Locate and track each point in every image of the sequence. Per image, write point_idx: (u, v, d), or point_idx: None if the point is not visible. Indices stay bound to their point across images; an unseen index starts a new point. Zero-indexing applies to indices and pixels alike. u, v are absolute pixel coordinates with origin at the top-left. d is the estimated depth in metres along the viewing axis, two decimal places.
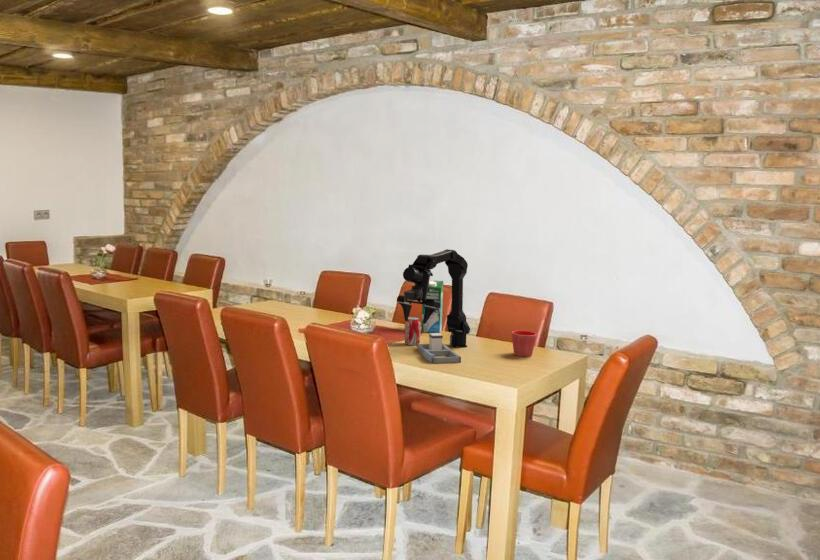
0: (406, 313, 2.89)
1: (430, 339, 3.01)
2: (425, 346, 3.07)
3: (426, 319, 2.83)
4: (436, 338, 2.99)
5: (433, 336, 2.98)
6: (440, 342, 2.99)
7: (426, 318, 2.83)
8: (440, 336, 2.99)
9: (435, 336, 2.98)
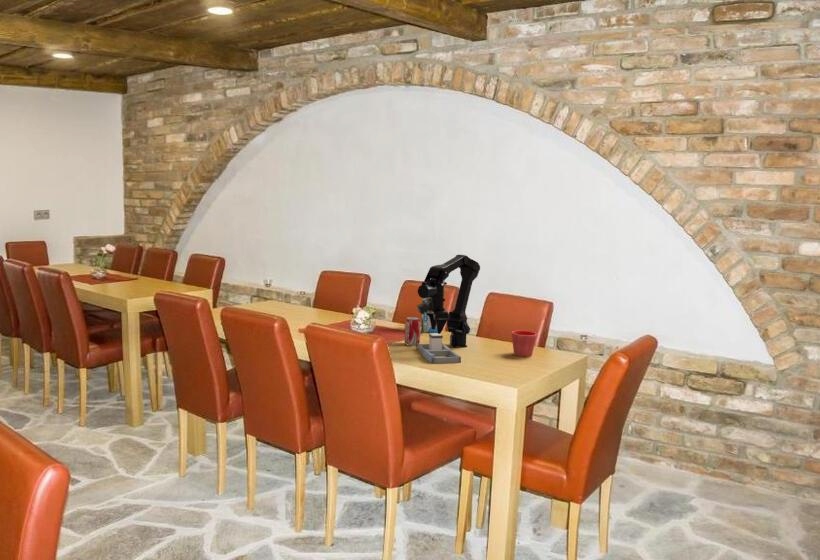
0: (432, 322, 3.05)
1: (430, 339, 3.01)
2: (425, 346, 3.07)
3: (439, 329, 2.95)
4: (436, 338, 2.99)
5: (433, 336, 2.98)
6: (440, 342, 2.99)
7: (439, 328, 2.95)
8: (440, 336, 2.99)
9: (435, 336, 2.98)
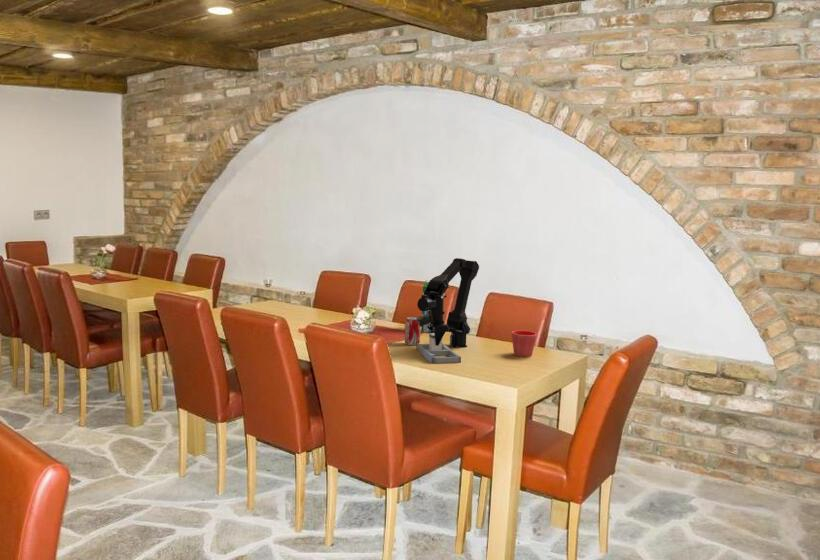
0: None
1: (430, 339, 3.01)
2: (425, 346, 3.07)
3: (437, 341, 2.98)
4: None
5: (433, 336, 2.98)
6: (440, 342, 2.99)
7: (437, 340, 2.98)
8: None
9: None
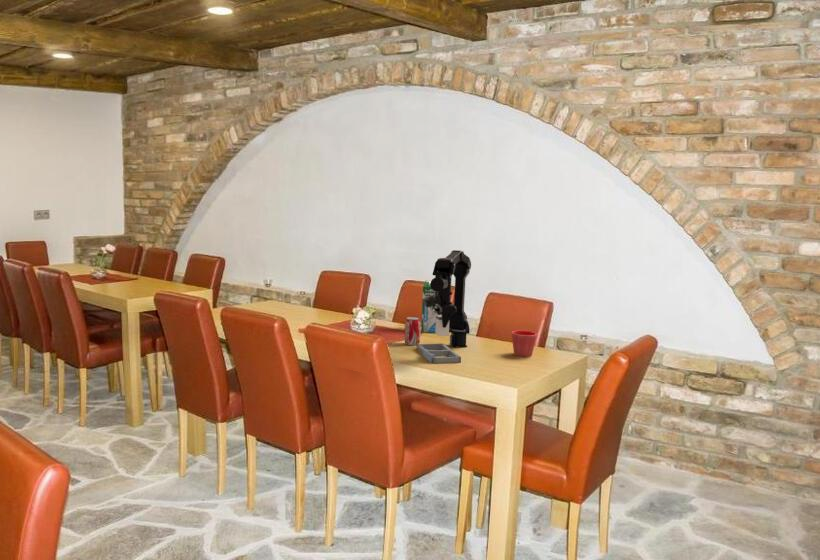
0: None
1: (437, 321, 2.89)
2: (425, 346, 3.07)
3: (444, 323, 2.86)
4: None
5: (440, 317, 2.87)
6: (447, 324, 2.88)
7: (444, 322, 2.86)
8: None
9: None
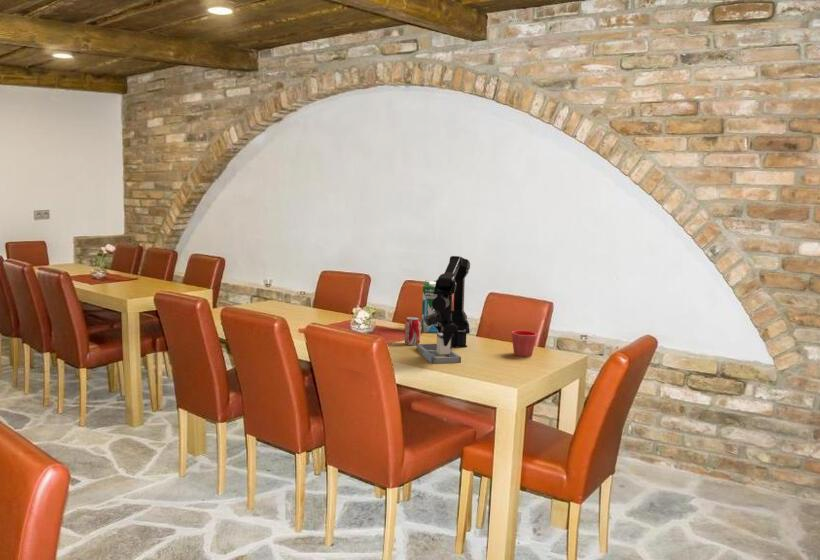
0: None
1: (438, 339, 2.89)
2: (425, 346, 3.07)
3: (446, 341, 2.86)
4: None
5: (441, 336, 2.86)
6: None
7: (445, 340, 2.86)
8: None
9: None
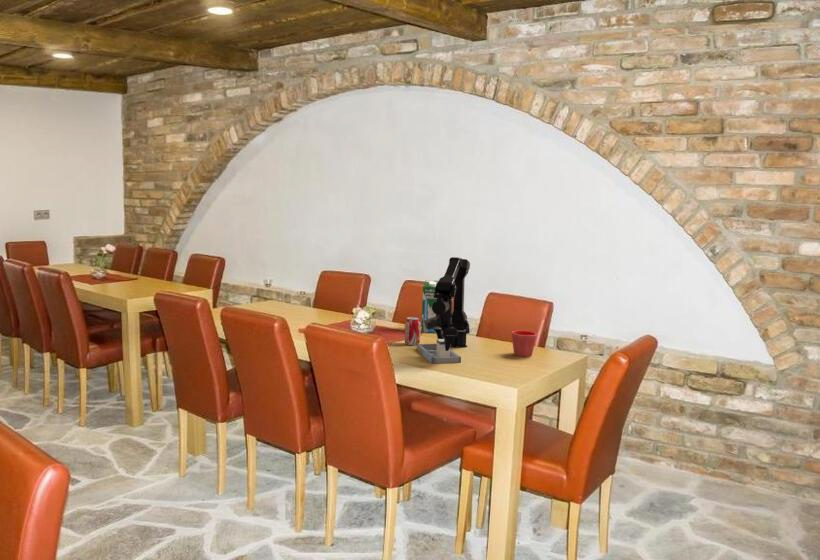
0: (439, 338, 2.93)
1: (438, 345, 2.89)
2: (425, 346, 3.07)
3: (447, 346, 2.84)
4: (444, 344, 2.87)
5: (441, 342, 2.86)
6: None
7: (447, 345, 2.84)
8: None
9: (443, 342, 2.87)
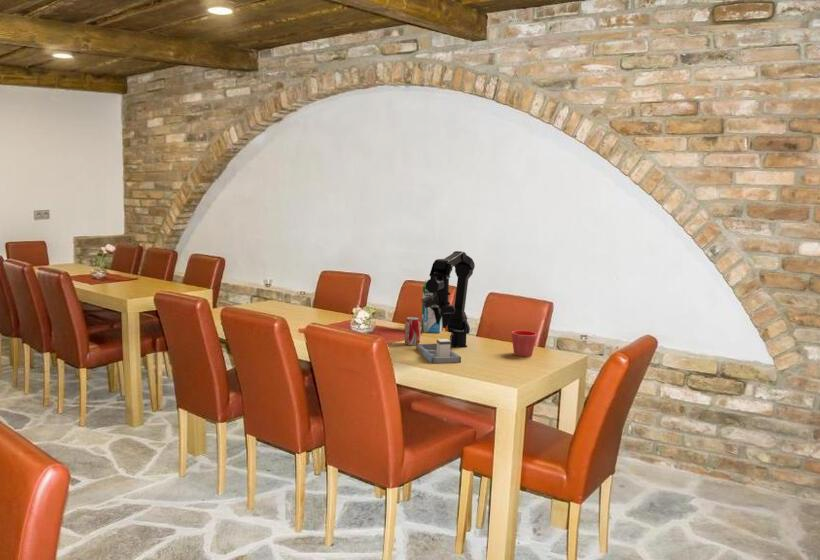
0: (436, 316, 3.00)
1: (438, 345, 2.89)
2: (425, 346, 3.07)
3: (445, 324, 2.90)
4: (444, 344, 2.87)
5: (441, 342, 2.86)
6: (448, 348, 2.88)
7: (444, 323, 2.90)
8: (448, 342, 2.87)
9: (443, 342, 2.87)
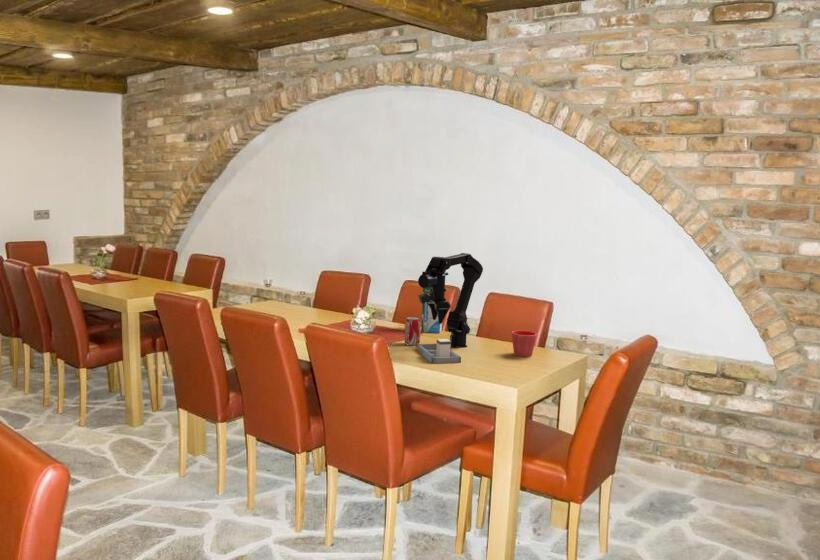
0: (433, 312, 3.06)
1: (438, 345, 2.89)
2: (425, 346, 3.07)
3: (440, 319, 2.97)
4: (444, 344, 2.87)
5: (441, 342, 2.86)
6: (448, 348, 2.88)
7: (440, 318, 2.97)
8: (448, 342, 2.87)
9: (443, 342, 2.87)
